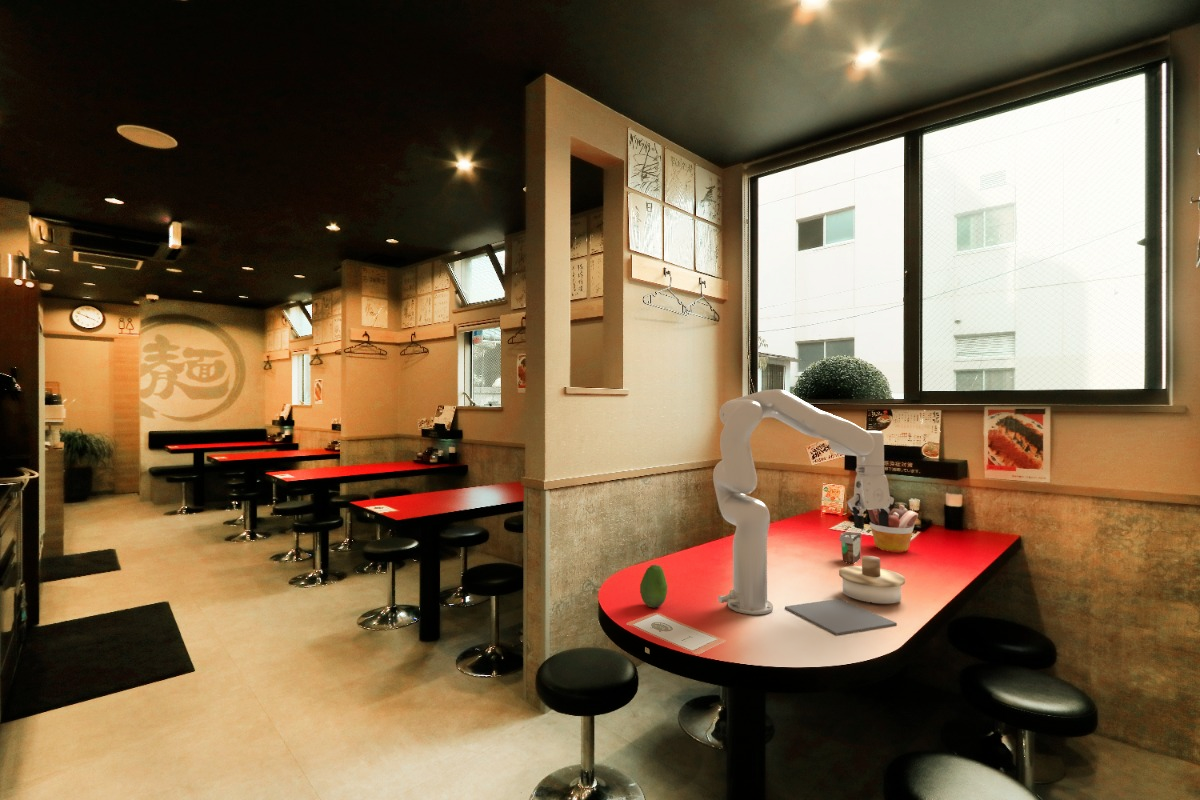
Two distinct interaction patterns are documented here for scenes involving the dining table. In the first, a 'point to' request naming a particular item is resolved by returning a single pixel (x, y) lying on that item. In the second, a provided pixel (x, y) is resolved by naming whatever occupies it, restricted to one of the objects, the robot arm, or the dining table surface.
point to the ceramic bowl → (872, 592)
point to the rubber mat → (840, 616)
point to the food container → (851, 546)
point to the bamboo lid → (871, 574)
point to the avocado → (653, 586)
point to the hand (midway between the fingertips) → (871, 527)
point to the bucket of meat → (893, 529)
